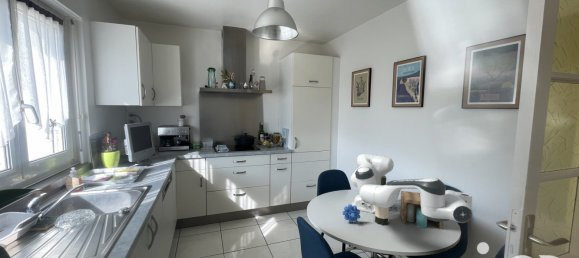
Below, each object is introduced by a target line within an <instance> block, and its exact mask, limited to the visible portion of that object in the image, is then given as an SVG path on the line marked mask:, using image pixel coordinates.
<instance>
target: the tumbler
mask: <svg viewBox="0 0 579 258" xmlns="http://www.w3.org/2000/svg"><path fill="white" fill-rule="evenodd" d="M415 226H416V227H418V228H420V229H427V227H428V220H427V217H425V216H424V215H423V214H422V213H421V207H417V214H416V218H415Z"/></svg>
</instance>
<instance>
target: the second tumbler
mask: <svg viewBox="0 0 579 258" xmlns="http://www.w3.org/2000/svg"><path fill="white" fill-rule="evenodd" d="M405 222H411V223H413V222H416V218H415V204H412V203H406V217H405Z"/></svg>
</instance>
